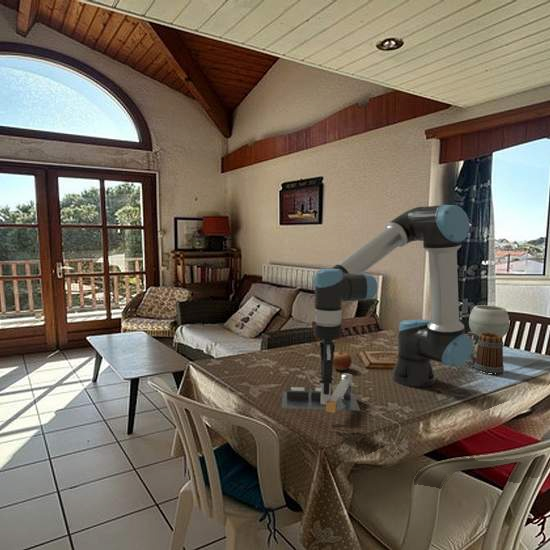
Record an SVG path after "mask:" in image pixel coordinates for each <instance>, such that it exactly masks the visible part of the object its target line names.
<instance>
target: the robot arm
mask: <svg viewBox="0 0 550 550" xmlns="http://www.w3.org/2000/svg"><path fill="white" fill-rule="evenodd" d="M469 232H470V220H469V217H468V214H467V212H465V210H463V208H462V207H460V205H459V206H458V205H455V204H440V205H439V204H438V205H431V206H430V205H428V206H417V207H414V208H413V207H412V208H411V209H409V210H407V211H405V212H403V213H401V214H400V215H398V216H396V217H395V218H393V219H392V220H391V221H389V222H388V223H387V224H386V225H385V226H384V229H383V230H382V231H380V232H379V233H377V234H376V235H375V236H374V237H372V238H370V240H368V241H367V242H366V243H364V244H362V245H361V246H360V247H359V248H357V249H355V250H353V252H352V253H350V254H349V255H347V256H346V257H344V258H343V259H342V260H341V261H339V262H338V263H336V264H335V265H333V266H332V267H331V268H319V269H318V270H316V272H315V275H314V277H313V280H312V281H313V286H314V310H315V311H312V315H313V316H314V322H315V323H314V326H313V329H314V330H313V332H314V333H313V334H314V337H315V338H316V339H320V340H322V341H320V342H319V348H320V351H319V352H320V359H321V361H320V377H321V378H320V380H319V384H320V387H321V404H326V402H327V400H329V399H330V397H331V387H332V384H333V380H334V379H333V368H334V366H333V357H334V353H335V351H336V349H335V348H336V347H335V346H336V345H335V344H334V342H333V341H334V340H338V339H341V336H342V325H341V323H342V315H343V313H342V312H343V311H342V310H343V309H342V308H343V307H342V306H343V303H345V302H353V301H354V302H355V301H356V302H357V301H367V300H372V299H373V298H375V296H376V295H377V293H378V282H377V280H376V278H375V277H374V276H373V275H371V274H364V273H365V272H366V271H368V270H369V269H370V268H372V267H373V266H375V265H376V264H377V263H378V262H380V261H382V259H384V258H385V257H386V256H387V255H389V254H391V252H393V251H394V250H395V249H398V248H403V247H404V246H406V245H407V244H409V243H412V242H417V241H420V242H422V245H423V247H422V248H423V249H424V250H425V251H427V253H428V266H429V267H428V270H429V288H430V289H429V290H430V291H429V292H430V308H431V309H430V311H431V319H424V318H422V319H421V318H418V319H417V318H416V319H415V318H413V319H404V320H402V321H400V323H399V328H398V344H397V345H398V347H397V348H398V350H397V360H396V362H395V364H394V367H393V370H392V379H393V380H394V382H396V383H398V384H401V385H403V386H408V387H415V388H426V387H431V386H433V385H434V384H435V383H436V381H435V380H436V378H435V373H434V369H433V365H432V363H431V361H434V362H437V363H440V364H443V366H449V367H452V368H458V367H461V366H463V365H464V364H465V363H467V361H468V360H469V358H471V357H470V355H471V353H472V352H473V350H474V348H473V347H474V344H473V343H474V341H473V339H472V338H471V336H470V335H467V334H466V332H465V325H464V323H462V322H461V321H460V313H459V311H460V310H459V309H460V308H459V305H460V304H459V285H458V284H459V283H458V282H459V281H458V277H459V276H458V252H457V251H458V250H459V249H460V248H461V247H462V242H463V241H464V240H465V239H466V238H467V237H468V233H469Z"/></svg>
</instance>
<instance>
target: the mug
mask: <svg viewBox="0 0 550 550" xmlns="http://www.w3.org/2000/svg"><path fill="white" fill-rule="evenodd" d="M465 334H467V335H469V336H470V335H471V336H473V337H474V339H475V341H473V346H476V344H477V343H478V347H477V352H476V353H475V354H476V356H474V354H473V353H472V352H471V355H470V357H469V358H470V359H471V360H469V359H468V360H467V361H466V363H467V365H469V366H470V367H471V366H474V370H475V369H477V370H478V371H482V372H485V373H492V374H495V373H496V374H500V373H502V374H503V373H504V369H505V368H504V367H505V366H504V350H503V349H504V348H503V347H504V341H503V339H504V337H502V335H499V334H495V333H491V334H490V333H480V335H479V336H478V335H477V334H476V333H474V332H472V331H469V332H467V333H466V332H465ZM477 370H476V371H477ZM478 371H477V372H478ZM500 375H501V374H500Z"/></svg>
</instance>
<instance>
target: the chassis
mask: <svg viewBox="0 0 550 550" xmlns="http://www.w3.org/2000/svg"><path fill="white" fill-rule="evenodd" d="M281 409H286V410H289V409H292V410H293V409H294V410H318V411H319V410H321V411H323V410H325V411H326V404H321V400H312V399H311V391H310V392H309V400H305V399H287V391H282V399H281ZM337 411H354V412H355V411H357V412H358V411H359V412H360V411H361V409H360V406H359V404H358V401H357V398H356V396H355V393H352V386H350V387H348V389H347V390H346V392H345V394H344V396H343V398H342V400H341V402H340V403H339V405H338V407H337Z"/></svg>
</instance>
